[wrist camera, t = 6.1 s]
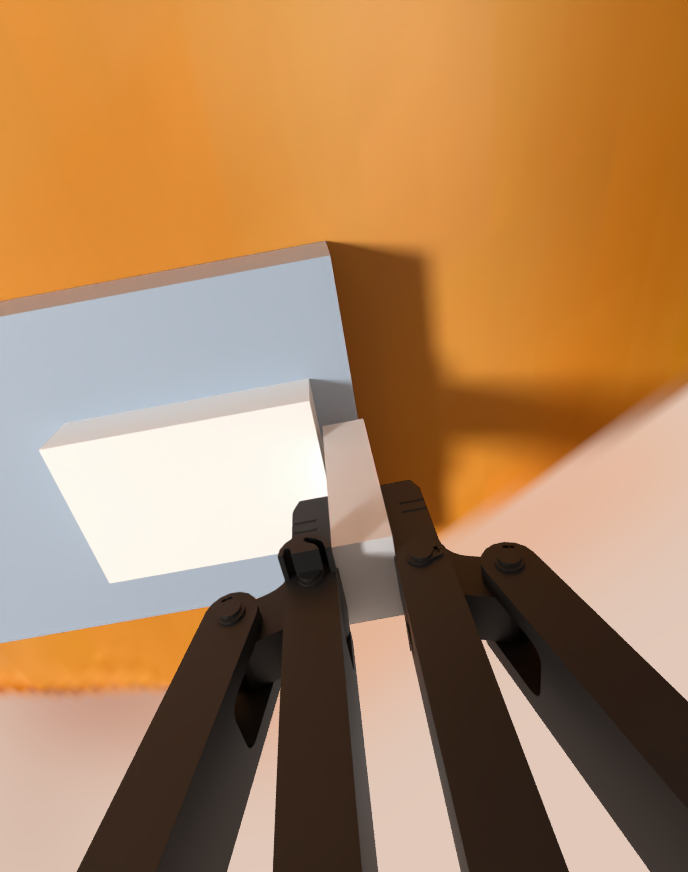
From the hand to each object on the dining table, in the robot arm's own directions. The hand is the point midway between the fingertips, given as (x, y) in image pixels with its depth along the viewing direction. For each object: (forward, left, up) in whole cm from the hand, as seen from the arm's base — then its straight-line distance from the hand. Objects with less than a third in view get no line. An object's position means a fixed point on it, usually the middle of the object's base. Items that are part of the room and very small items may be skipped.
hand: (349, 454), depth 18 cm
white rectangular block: (-5, 0, -1) cm, 5 cm away
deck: (-10, 0, -5) cm, 12 cm away
